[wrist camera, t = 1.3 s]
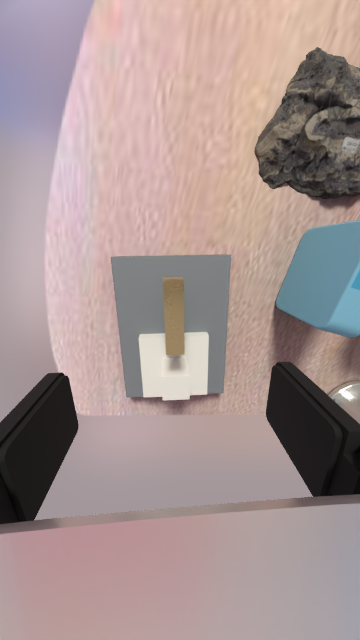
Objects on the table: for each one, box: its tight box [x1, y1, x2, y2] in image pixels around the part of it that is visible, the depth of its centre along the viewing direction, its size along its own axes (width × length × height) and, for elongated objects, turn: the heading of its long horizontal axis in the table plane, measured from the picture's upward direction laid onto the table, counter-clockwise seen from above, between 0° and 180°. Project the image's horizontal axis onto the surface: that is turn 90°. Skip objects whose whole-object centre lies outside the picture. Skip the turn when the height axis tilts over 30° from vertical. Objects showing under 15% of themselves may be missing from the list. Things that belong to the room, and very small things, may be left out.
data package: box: [276, 220, 360, 337], centre depth 27 cm, size 12×4×12 cm, turn 165°
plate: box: [111, 255, 231, 397], centre depth 33 cm, size 22×16×3 cm
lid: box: [139, 332, 209, 400], centre depth 30 cm, size 10×10×6 cm
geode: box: [255, 47, 360, 199], centre depth 26 cm, size 19×4×15 cm
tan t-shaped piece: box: [163, 277, 185, 355], centre depth 26 cm, size 11×2×9 cm, turn 1°
